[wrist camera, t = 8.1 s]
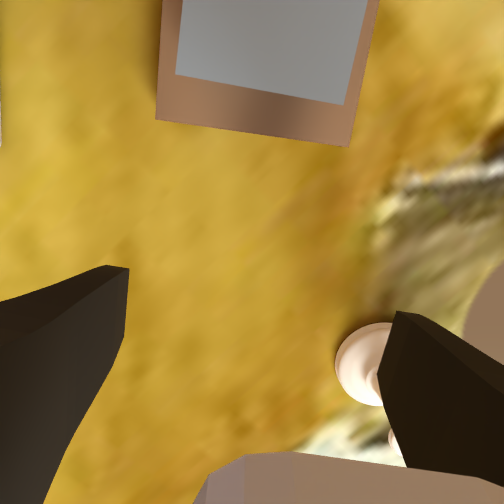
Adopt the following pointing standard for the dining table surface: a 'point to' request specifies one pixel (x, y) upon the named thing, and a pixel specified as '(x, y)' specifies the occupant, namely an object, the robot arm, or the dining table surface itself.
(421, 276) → the dining table surface
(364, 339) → the chess piece
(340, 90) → the slate cube
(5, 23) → the dining table surface
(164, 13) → the walnut block
